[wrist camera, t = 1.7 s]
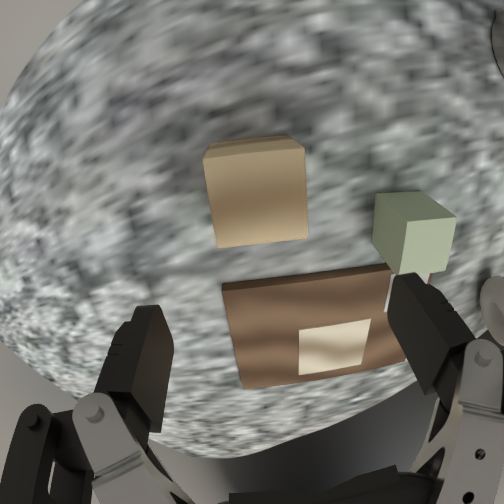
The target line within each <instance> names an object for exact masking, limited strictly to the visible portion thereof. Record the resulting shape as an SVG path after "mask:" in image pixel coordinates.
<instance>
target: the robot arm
mask: <svg viewBox="0 0 504 504" xmlns="http://www.w3.org/2000/svg"><path fill="white" fill-rule="evenodd" d="M495 14H496V19H495V21H494V23H493V27H492V45H493V50H494V54H495V57H496V60H497V63H498V66H499V68H500V70H501V72H502V74H503V76H504V9H497V10H495ZM387 318H388V323H389V325H390V327H391V329H392V331H393V333H394V335H395V337H396V339H397V340H398V342H399V344H400V346H401V348H402V350H403V352H404V354H405V356H406V358H407V360H408V362H409V364H410V366H411V368H412V370H413V372H414V374H415V376H416V378H417V380H418V382H419V384H420V386H421V388H422V390H423V393H424V395H428V394H431V393H434V392H437V394H438V396H439V397H438V399H437V401H436V404H435V408H434V411H433V415H432V418H431V422H430V426H429V429H428V432H427V435H426V438H425V441H424V445H423V447H422V449H421V452H420V453H419V455H418V456H417V458H416V460H415V462H414V464H413V466H412V468H411V470H410V472H398V471H397V468H396V465H393V466H390V467H387V468H383V469H380V470H377V471H373V472H370V473H366V474H363V475H359V476H356V477H354V478H352V479H350V480H348V481H346V482H344V483H342V484H340V485H338V486H335V487H333V488H331V489H329V490H326V491H324V492H322V493H319V494H300V493H288V492H278V491H263V492H249V493H248V492H247V493H229V500H228V501H225V502H221V503H218V504H494V500H495V496H496V493H497V489H498V485H499V481H500V476H501V471H502V467H503V462H504V351H500V350H499V348H498V347H497V346H496V345H494V344H493V343H492V342H490V341H487V340H483V339H476V338H475V336H474V335H473V334H472V332H471V331H470V329H469V328H468V327H467V325H466V324H465V323H464V321H463V320H462V318H461V317H460V316H459V315H458V313H457V312H456V311H454V308H453V307H452V305H451V304H450V303H448V300H447V299H446V298H445V296H444V295H443V294H442V293H441V291H439V290H438V289H436V288H435V287H433V286H432V285H430V284H425V282H424V281H423V280H422V279H421V277H420V276H419V275H418V274H417V273H416V272H411V273H406V274H400V275H396V276H395V277H394V279H393V283H392V288H391V293H390V299H389V303H388V308H387ZM107 354H108V356H106V359H105V361H104V364H103V367H102V370H101V373H100V375H99V378H98V381H97V384H96V387H95V390H94V392H93V393H91V394H88V395H86V396H84V397H83V398H81V399H80V400H79V401H78V402H77V404H76V405H75V407H74V409H73V410H69V411H64V412H58V413H51V412H50V411H49V410H48V409H47V407H45V406H44V405H42V404H33V405H31V406H29V407H27V408H26V409H25V410H24V411H23V412H22V413H21V415H20V417H19V420H18V423H17V425H16V428H15V432H14V435H13V438H12V441H11V444H10V448H9V451H8V455H7V459H6V463H5V466H4V470H3V474H2V478H1V483H0V504H91V497H92V489H93V490H94V492H95V494H96V496H97V498H98V500H99V502H100V504H195V503H194V501H193V500H192V499H191V498H190V497H189V496H188V495H187V494H186V493H185V492H184V491H183V490H182V489H181V487H180V486H179V485H178V484H177V483H176V481H175V480H174V479H173V477H172V476H171V475H170V473H169V472H168V470H167V469H166V468H165V466H164V465H163V463H162V462H161V460H160V459H159V458H158V456H157V455H156V453H155V452H154V450H153V449H152V447H151V446H150V444H149V443H148V437H149V432H155V433H161V428H162V421H163V414H164V408H165V401H166V395H167V389H168V383H169V377H170V371H171V365H172V360H173V354H174V344H173V339H172V335H171V333H170V330H169V328H168V325H167V323H166V320H165V317H164V315H163V312H162V309H161V307H160V306H159V305H146V306H137V307H136V309H135V311H134V313H133V316H132V319H131V321H129V322H124V323H123V324H122V326H121V327H120V328H119V329H118V330H117V331H116V333H115V335H114V338H113V340H112V343H111V346H110V348H109V351H108V353H107ZM53 462H55V467H54V472H53V477H52V482H51V489H50V494H49V493H48V483H49V477H50V472H51V468H52V463H53ZM94 474H95V478H94Z"/></svg>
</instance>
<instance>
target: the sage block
mask: <svg viewBox="0 0 504 504" xmlns="http://www.w3.org/2000/svg"><path fill="white" fill-rule="evenodd" d="M456 221H457V217H456V216H455V215H454V214H452V213H451V212H450V211H448V210H447V209H446V208H444V207H443V206H441V205H440V204H439V203H437V202H436V201H434V200H433V199H432V198H430V197H429V196H427V195H426V194H424V193H423V192H421V191H413V192H394V193H377V194H375V208H374V222H373V233H372V244H373V246H374V247H375V248H376V250H377V251H378V252H379V254H380V255H381V256H382V258H383V259H384V260H385V262H386V263H387V264H388V266H389V267H390V268H391V270H392V271H393V272H394V274H395V275H400V274H406V273H411V272H416V273H417V274H418V275H423V274H429V273H434V272H439V271H445V270H446V266H447V262H448V258H449V254H450V250H451V245H452V241H453V236H454V231H455V226H456Z"/></svg>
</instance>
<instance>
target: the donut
mask: <svg viewBox="0 0 504 504" xmlns="http://www.w3.org/2000/svg"><path fill="white" fill-rule="evenodd" d="M480 306H481V311H482V315H483V318H484V321H485V323H486V326H487V328H488V330H489V331H490V333H491V335H492V336H493V337H494V338H495V340H496V341H497V342H498V343H500V344H501V345H502V346H504V277H501V276H494V277H491V278H488V279H487V280H486V282H485V283H484V284H483V286H482V288H481V293H480Z"/></svg>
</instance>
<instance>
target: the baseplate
mask: <svg viewBox="0 0 504 504" xmlns="http://www.w3.org/2000/svg"><path fill="white" fill-rule="evenodd" d="M432 274H433V273H429V274H423V275H419V276H420V277H421V279H422V280H423V281H424V282H425V284H430V281H431V278H432ZM395 276H396V275H395V274H394V272H393V271H392V270H391V268H390V267H389V266H388V264H387V263H385V264H378V265H371V266H363V267H356V268H349V269H341V270H334V271H326V272H318V273H310V274H302V275H294V276H286V277H277V278H269V279H260V280H251V281H242V282H233V283H223V284H222V294H223V299H224V304H225V309H226V314H227V318H228V323H229V328H230V332H231V337H232V341H233V346H234V350H235V355H236V359H237V364H238V368H239V372H240V377H241V381H242V385H243V389H250V388H260V387H270V386H278V385H286V384H294V383H301V382H308V381H314V380H320V379H326V378H332V377H337V376H342V375H348V374H353V373H357V372H362V371H367V370H371V369H376V368H380V367H384V366H388V365H392V364H396V363H400V362H404V361H405V359H406V356H405V354H404V352H403V350H402V348H401V346H400V344H399V342H398V340H397V339H396V337H395V335H394V333H393V331H392V329H391V327H390V325H389V323H388V318H387V308H388V303H389V299H390V293H391V288H392V283H393V279H394V277H395Z"/></svg>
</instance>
